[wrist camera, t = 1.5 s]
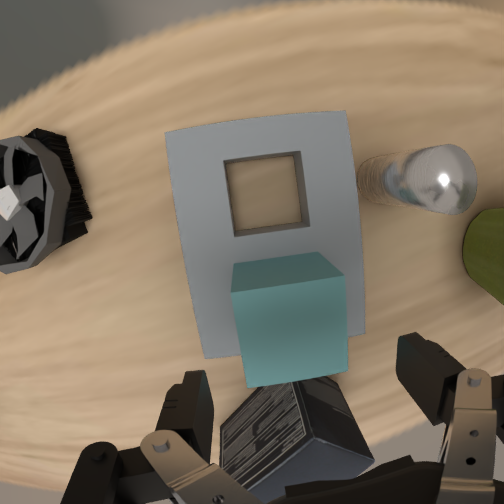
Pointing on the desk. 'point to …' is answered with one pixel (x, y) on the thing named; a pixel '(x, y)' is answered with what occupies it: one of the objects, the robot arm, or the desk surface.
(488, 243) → the plant pot
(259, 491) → the small box
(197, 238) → the peg board
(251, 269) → the teal cube
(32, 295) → the desk surface
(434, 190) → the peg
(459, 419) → the robot arm
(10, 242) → the cpu cooler
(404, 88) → the desk surface
